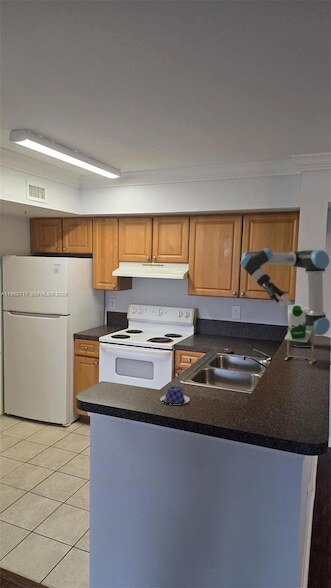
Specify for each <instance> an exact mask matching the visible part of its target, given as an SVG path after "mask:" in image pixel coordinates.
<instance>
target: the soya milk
mask: <svg viewBox="0 0 331 588" xmlns="http://www.w3.org/2000/svg"><path fill="white" fill-rule="evenodd" d="M305 312H306V310H305V308H304V305H303V303H295V304H289V305H288V306H287V319H288V320H287V323H288V327H289V330H290V333H291V337H292V339H295V338H305V334H306V318H305Z"/></svg>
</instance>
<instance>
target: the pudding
mask: <svg viewBox="0 0 331 588" xmlns="http://www.w3.org/2000/svg"><path fill="white" fill-rule="evenodd" d="M164 399H165V400H166V401H167V402H171V403H180V404H181V403H183V402H184V403H183V404H182V405H184V404H186V403H189V402H190V400H191V399H190V397H188V396H187V395H185V394H184V392H183V388H182V387H180V386H175V385H173V386H170V387H168V388H167V389H166V394H164V395H162V396H161V397H160V398H159V400H160V401H161V402H162V400H164ZM166 401H165V402H166ZM171 403H170V404H171ZM180 404H173V405H180Z"/></svg>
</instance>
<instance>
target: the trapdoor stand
mask: <svg viewBox="0 0 331 588" xmlns="http://www.w3.org/2000/svg"><path fill="white" fill-rule="evenodd" d="M314 330H315V329H312V339H311V341H312V347H311V348H310V350H311V351H310V352H311V353H310V357H305V356H298V355H290V346H289V340H286V357H285V358H283V359H284V360H287V359H288V358H289V357H296V358H302V359H301V360H303V359H308V360H307V361H309V364H311V365H312V364H313V363H314V362H315V361H316V359H315V358H314V355H315V354H314V351H315V350H314V349H315V334H314ZM286 331H287V332H286V333H288V331H289V326H288V327H287V330H286ZM296 358H295V359H296ZM288 360H289V359H288ZM288 360H287V361H288ZM310 360H311V361H310Z"/></svg>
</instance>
